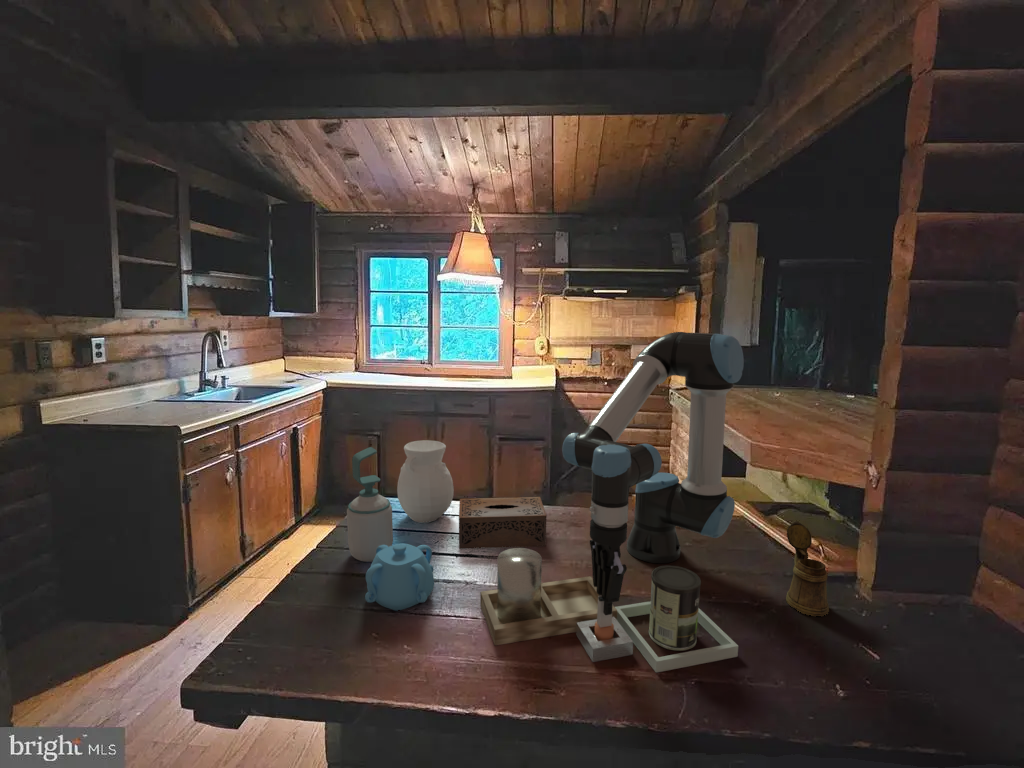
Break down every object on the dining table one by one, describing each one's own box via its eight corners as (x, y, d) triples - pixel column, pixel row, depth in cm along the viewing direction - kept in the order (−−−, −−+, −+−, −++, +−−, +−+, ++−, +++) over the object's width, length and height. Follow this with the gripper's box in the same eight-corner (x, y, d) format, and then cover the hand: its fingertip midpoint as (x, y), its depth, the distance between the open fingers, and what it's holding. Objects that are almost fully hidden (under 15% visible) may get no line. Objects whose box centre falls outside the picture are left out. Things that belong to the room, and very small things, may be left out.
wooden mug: (806, 586, 137) (813, 520, 134) (836, 617, 124) (845, 546, 121) (771, 585, 137) (778, 520, 134) (797, 616, 124) (805, 545, 121)
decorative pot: (441, 581, 138) (440, 532, 135) (425, 618, 122) (424, 564, 120) (380, 578, 139) (378, 529, 137) (357, 614, 123) (354, 560, 121)
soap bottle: (400, 557, 150) (397, 451, 144) (356, 569, 143) (351, 459, 138) (384, 540, 160) (380, 441, 155) (343, 551, 153) (338, 447, 148)
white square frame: (685, 605, 128) (685, 595, 128) (737, 656, 110) (738, 645, 110) (613, 616, 123) (614, 607, 123) (655, 672, 105) (656, 661, 105)
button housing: (613, 628, 119) (613, 616, 118) (632, 654, 110) (633, 641, 110) (576, 634, 116) (576, 622, 116) (592, 662, 108) (593, 648, 107)
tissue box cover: (459, 549, 155) (458, 517, 154) (460, 528, 169) (459, 498, 168) (545, 547, 157) (546, 515, 156) (539, 526, 172) (540, 496, 170)
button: (608, 635, 116) (608, 618, 115) (616, 646, 112) (617, 629, 111) (591, 637, 115) (591, 621, 114) (598, 649, 111) (599, 632, 110)
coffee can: (693, 624, 120) (697, 567, 118) (699, 654, 111) (704, 592, 108) (646, 618, 123) (650, 562, 120) (649, 647, 113) (652, 586, 110)
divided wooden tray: (590, 589, 134) (590, 576, 134) (616, 625, 120) (617, 610, 119) (480, 605, 127) (480, 591, 126) (494, 645, 113) (494, 629, 112)
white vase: (428, 534, 164) (427, 457, 160) (386, 520, 174) (383, 447, 170) (465, 513, 180) (464, 442, 176) (424, 502, 190) (422, 434, 185)
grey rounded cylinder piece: (533, 599, 128) (534, 545, 125) (546, 624, 118) (547, 566, 116) (492, 605, 125) (493, 550, 123) (503, 631, 116) (503, 572, 113)
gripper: (579, 509, 114) (576, 609, 118) (605, 536, 101) (600, 647, 105) (611, 506, 116) (607, 604, 120) (640, 532, 103) (634, 641, 107)
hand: (604, 624), depth 113 cm, fingers closed
